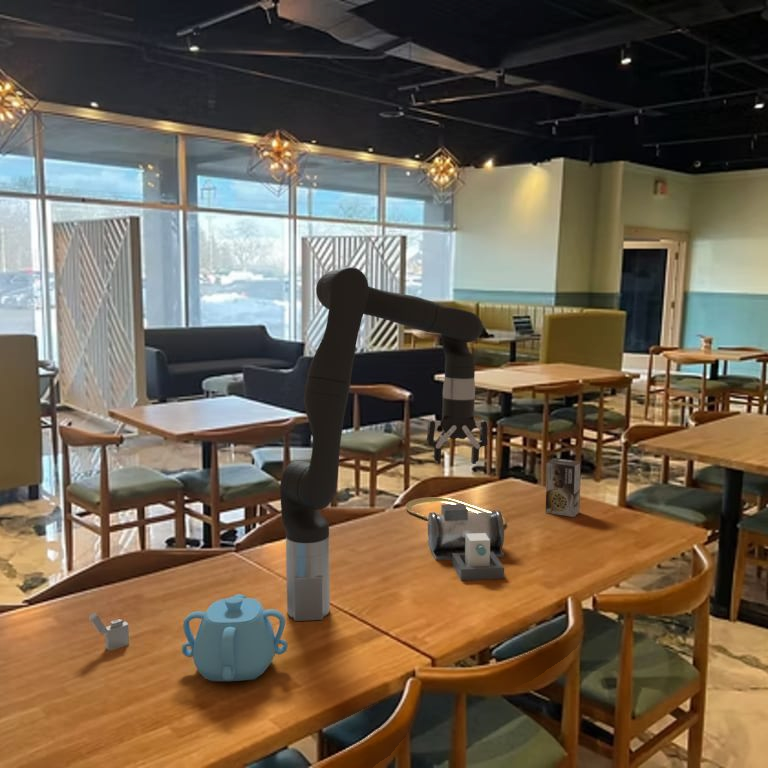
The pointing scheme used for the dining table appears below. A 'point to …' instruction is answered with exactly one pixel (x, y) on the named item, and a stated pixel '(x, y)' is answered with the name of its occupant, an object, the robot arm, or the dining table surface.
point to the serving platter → (444, 500)
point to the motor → (462, 530)
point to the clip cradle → (477, 568)
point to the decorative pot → (234, 639)
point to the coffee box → (563, 487)
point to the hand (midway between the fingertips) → (456, 463)
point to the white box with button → (477, 550)
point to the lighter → (112, 632)
